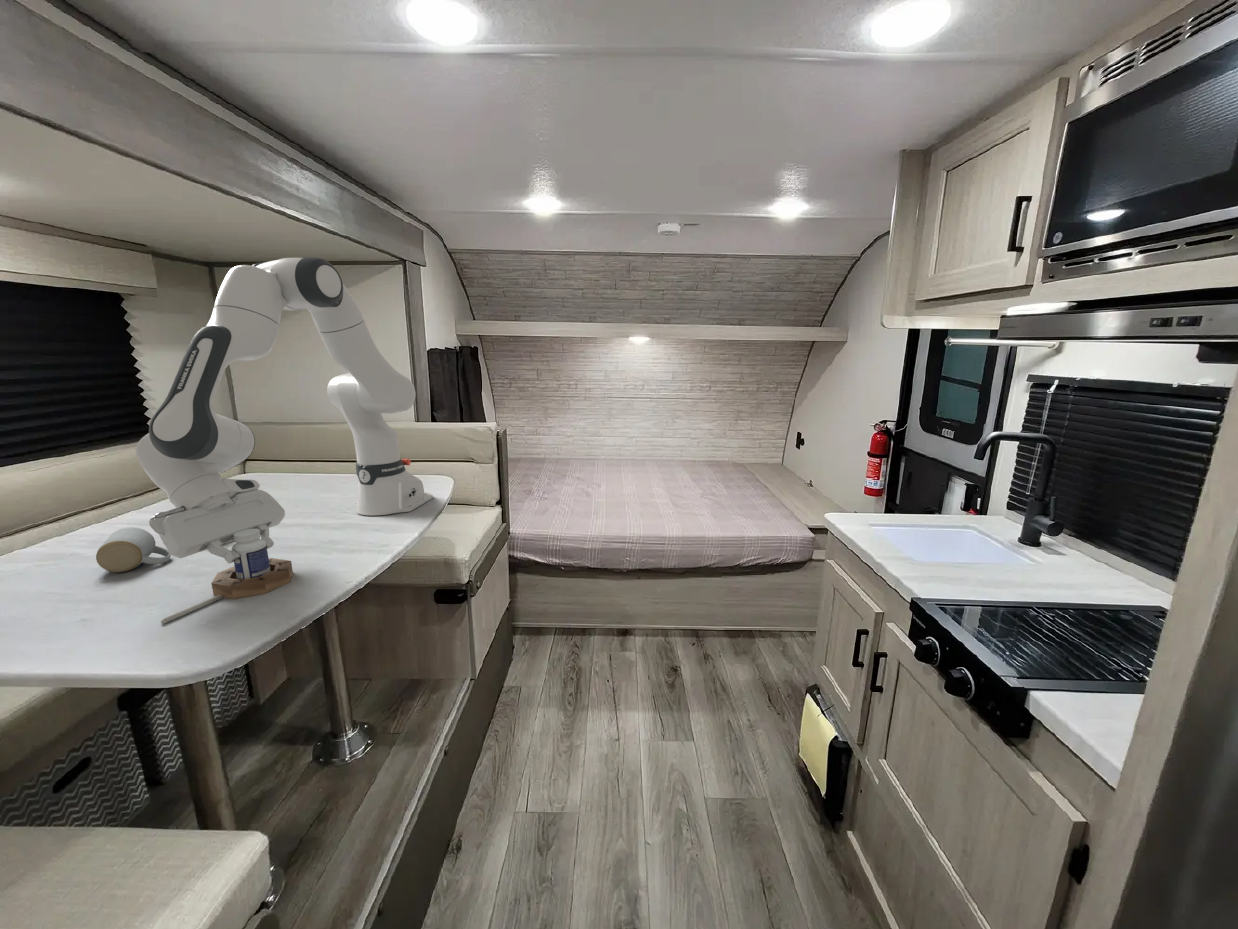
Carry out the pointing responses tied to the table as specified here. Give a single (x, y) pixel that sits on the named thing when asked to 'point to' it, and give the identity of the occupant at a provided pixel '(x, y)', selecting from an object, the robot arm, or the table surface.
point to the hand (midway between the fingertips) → (252, 553)
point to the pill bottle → (250, 555)
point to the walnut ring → (252, 581)
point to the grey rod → (190, 609)
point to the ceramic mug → (129, 550)
